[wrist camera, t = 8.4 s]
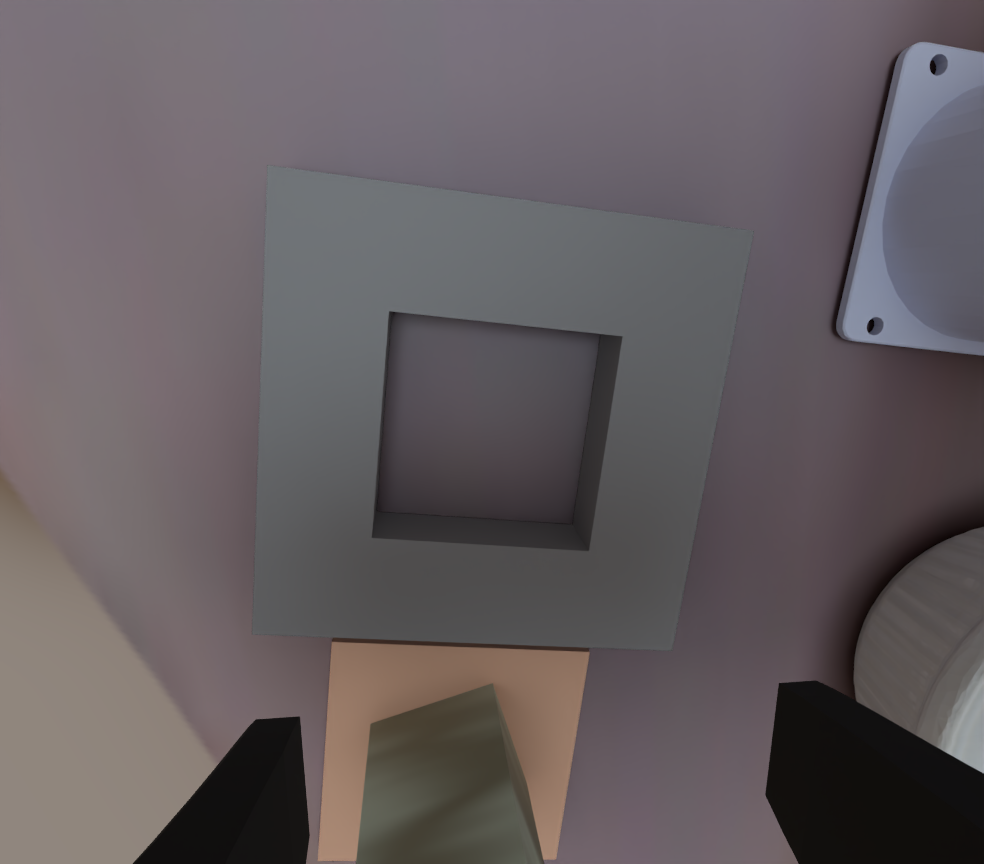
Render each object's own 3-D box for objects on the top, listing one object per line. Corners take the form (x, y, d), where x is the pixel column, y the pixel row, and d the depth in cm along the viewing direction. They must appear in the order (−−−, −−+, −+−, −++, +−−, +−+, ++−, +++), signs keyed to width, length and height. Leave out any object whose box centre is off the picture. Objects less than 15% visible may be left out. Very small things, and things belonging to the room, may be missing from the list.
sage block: (492, 683, 20) (538, 934, 13) (526, 782, 21) (588, 1071, 14) (370, 723, 20) (341, 1003, 12) (410, 822, 21) (406, 1137, 13)
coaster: (585, 641, 21) (589, 651, 20) (552, 844, 23) (555, 859, 22) (334, 631, 20) (331, 642, 19) (320, 845, 22) (317, 861, 21)
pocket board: (718, 235, 18) (754, 230, 16) (648, 616, 21) (672, 650, 19) (284, 177, 17) (267, 164, 15) (268, 598, 19) (252, 634, 17)
